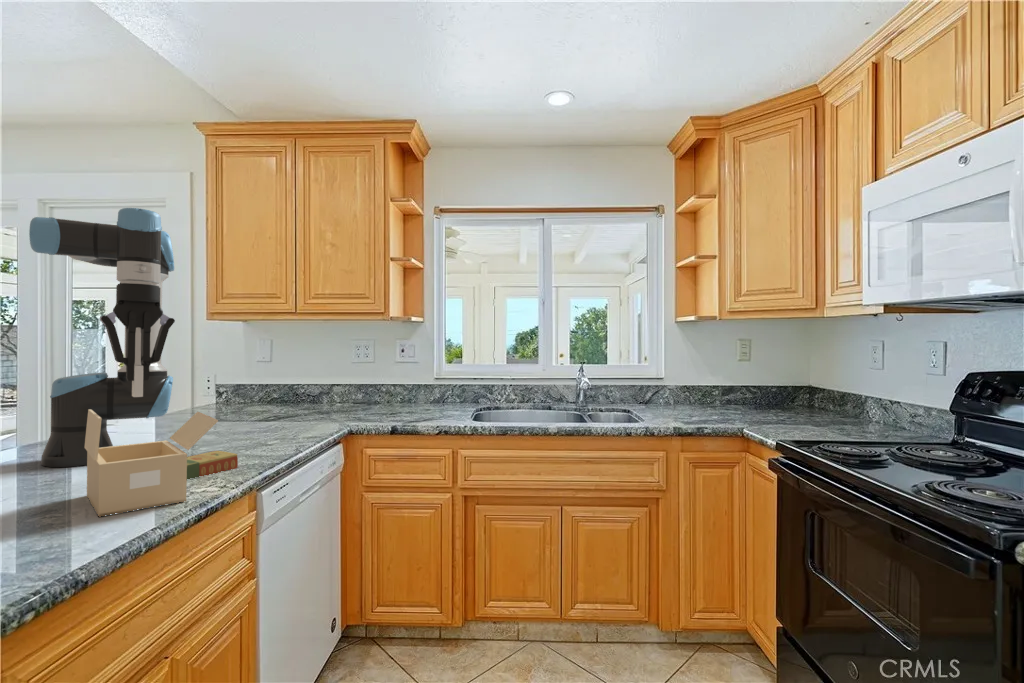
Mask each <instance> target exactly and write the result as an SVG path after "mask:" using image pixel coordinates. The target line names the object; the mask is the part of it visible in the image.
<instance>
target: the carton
mask: <svg viewBox="0 0 1024 683" xmlns="http://www.w3.org/2000/svg"><path fill="white" fill-rule="evenodd" d="M238 461H239V460H238V453H233V452H230V451H222V450H212V451H207V452H203V453H199V454H194V455H189V456H187V479H190V478H194V479H196V478H195V477H199V476H203V477H205V476H204V475H207V476H210V475H209V474H211V475H214V474H213V473H215V474H219V473H222V472H221V471H224V472H227V471H226V470H228V471H231V469H232V470H235V469H238V468H239V467H238V466H239V464H238ZM218 472H219V473H218ZM199 478H200V477H199ZM190 480H191V479H190Z"/></svg>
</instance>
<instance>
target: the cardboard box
mask: <svg viewBox="0 0 1024 683" xmlns="http://www.w3.org/2000/svg"><path fill="white" fill-rule="evenodd" d="M187 457H188V453H186V452H184V451H183V450H182V449H181V448H178V447H177V446H176V445H174V444H173V443H171V442H170V441H168V440H158V441H150V442H140V443H131V444H121V445H113V446H110V447H101V448H99V450H98V460H96V461H94V460H93V458H92V457H91V456H90V454H89V453H88V452H87V465H86V468H87V469H86V497H87V499H88V498H89V499H88V500H90V501H89V502H90V504H91V506H92V508H93V507H94V508H93V510H94V509H95V510H94V511H96V512H95V513H96V515H97V514H98V515H97V517H98V516H99V517H100V518H102V517H101V516H105V515H110V514H115V513H122V514H124V513H123V512H127V511H133V510H137V509H142V508H143V509H144V508H149V507H154V506H160V505H165V504H171V503H177V504H180V503H179V502H183V503H185V502H184V501H186V502H187V485H188V484H187V482H188V480H187ZM149 509H150V508H149ZM144 510H145V509H144ZM133 512H134V511H133ZM127 513H128V512H127ZM99 517H98V518H99ZM105 517H106V516H105Z"/></svg>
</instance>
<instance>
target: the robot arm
mask: <svg viewBox="0 0 1024 683" xmlns="http://www.w3.org/2000/svg"><path fill="white" fill-rule="evenodd" d="M28 232H29V233H28V234H29V235H28V236H29V244H30V248H31V250H32V251H33V252H35V253H38V254H46V255H51V256H55V255H56V256H66V257H67V256H68V257H70V258H71V259H73V260H77V261H80V262H84V263H89V264H92V265H97V266H102V267H111V268H116V280H117V282H119V283H117V285H116V289H115V290H116V296H115V298H116V301H115V306H114V307H113V310H112V311H111V312H110V313H108V314H105V315H101V316H100V317H99V321H100V322H101V323H102V324H103V327H105V330H106V333H107V337H108V340H109V344H110V346H111V349H112V354H113V356H114V361H116V363H120V364H123V366H122V367H120V368H119V369H118V370H117V376H116V377H109V374H108V373H107V372H95V373H94V372H93V373H83V374H77V375H70V376H63V377H59V378H57V379H55V380H54V381H52V384H51V393H50V395H49V397H50V403H51V404H50V406H51V407H50V410H51V411H50V435H49V438H48V440H47V442H46V445H45V448H44V450H43V452H42V454H41V459H40V460H41V466H43V467H48V468H67V467H80V466H87V450H86V449H85V448H84V447H85V437H86V427H87V417H88V409H91V410H93V411H94V412H95V413H96V414H97V415H98V416H100V417H101V418H102V420H101V430H100V440H99V448H101V447H110V446H114V445H113V442H112V440H111V437H110V435H109V433H108V425H107V424H108V421H112V420H114V421H115V420H129V419H130V420H131V419H133V420H134V419H149V418H159V417H163V416H165V415H166V414H167V412H168V411H169V408H170V403H171V402H170V401H171V396H172V390H173V382H174V377H173V376H171V375H168V369H167V368H166V367H164V366H163V365H162V353H163V350H164V347H165V344H166V341H167V340H166V339H168V338H167V337H168V335H169V331H170V329H171V327H172V326H173V325H174V323H175V321H176V320H175V318H174V317H169V316H168V315H166V314H165V313H164V311H163V282H164V281H166V280H167V279H168V278H169V272H174V271H175V261H174V259H175V258H174V250H173V245H172V239H171V236H170V234H169V233H168V232H166V231H165V230H163V226H162V218H161V215H160V214H159V213H158V212H156V211H153V210H150V209H144V208H138V207H123V208H121V209H119V210H118V213H117V221H116V224H109V223H98V222H88V221H79V220H75V219H74V220H73V219H72V220H71V219H64V218H56V217H50V216H49V217H43V216H34V217H32V219H31V220H30V224H29V230H28ZM116 318H117V319H118V320H119V322H121V324H122V325H123V326H124V353H123V350H122V346H121V342H120V339H119V336H118V332H117V329H116V327H115V323H116V322H117V320H116Z"/></svg>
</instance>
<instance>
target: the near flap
mask: <svg viewBox="0 0 1024 683" xmlns="http://www.w3.org/2000/svg"><path fill="white" fill-rule="evenodd" d="M101 420H102V418H101V417H100V416H98V415H97V414H96V413H95V412H94V411H93V410H91V409H88V417H87V427H86V437H85V447H84V448H85V449H86V450H87V452H88V453H89V454H90V456H91V457H92V458H93V460H94V461H96V460H98V450H99V440H100V430H101Z"/></svg>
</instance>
